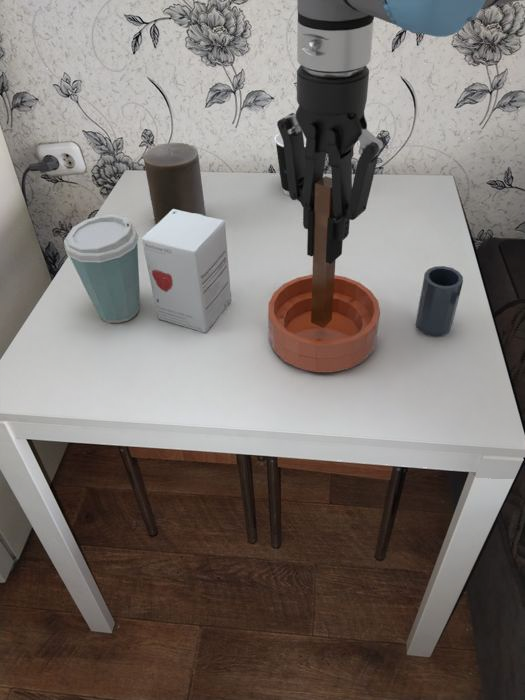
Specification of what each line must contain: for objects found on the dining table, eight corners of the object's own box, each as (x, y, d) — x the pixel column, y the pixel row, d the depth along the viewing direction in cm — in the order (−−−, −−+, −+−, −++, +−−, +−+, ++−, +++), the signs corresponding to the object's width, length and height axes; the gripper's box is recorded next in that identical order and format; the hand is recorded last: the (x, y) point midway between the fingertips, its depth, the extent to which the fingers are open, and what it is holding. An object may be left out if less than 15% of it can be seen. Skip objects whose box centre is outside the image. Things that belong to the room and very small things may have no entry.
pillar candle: (173, 242, 108) (160, 164, 97) (146, 220, 113) (131, 145, 103) (216, 223, 112) (208, 147, 101) (188, 203, 117) (178, 129, 107)
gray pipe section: (457, 322, 89) (469, 274, 83) (441, 342, 86) (453, 293, 80) (425, 309, 91) (435, 261, 85) (409, 328, 88) (418, 280, 82)
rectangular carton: (155, 319, 92) (138, 237, 82) (185, 287, 98) (172, 206, 87) (206, 334, 89) (195, 251, 79) (233, 300, 95) (226, 218, 84)
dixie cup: (302, 177, 124) (302, 125, 116) (321, 193, 118) (323, 140, 111) (268, 187, 121) (266, 134, 114) (287, 204, 116) (286, 150, 108)
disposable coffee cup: (83, 336, 90) (56, 253, 79) (87, 293, 97) (63, 213, 87) (153, 327, 91) (135, 244, 80) (152, 285, 98) (135, 205, 88)
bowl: (394, 329, 88) (399, 298, 84) (338, 392, 79) (341, 361, 75) (308, 292, 95) (309, 262, 91) (248, 346, 87) (246, 315, 82)
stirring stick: (331, 320, 86) (340, 180, 70) (323, 328, 84) (330, 188, 69) (319, 314, 87) (325, 175, 71) (310, 322, 85) (315, 183, 70)
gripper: (253, 62, 62) (261, 249, 79) (380, 91, 55) (360, 289, 72) (294, 43, 67) (293, 224, 83) (417, 68, 60) (390, 260, 76)
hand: (324, 254), depth 77 cm, fingers closed on stirring stick, 2 cm apart
